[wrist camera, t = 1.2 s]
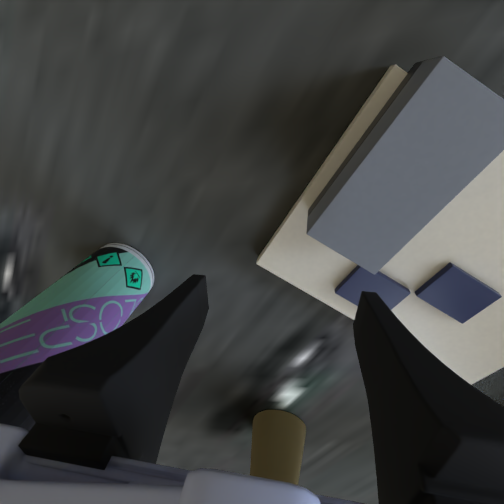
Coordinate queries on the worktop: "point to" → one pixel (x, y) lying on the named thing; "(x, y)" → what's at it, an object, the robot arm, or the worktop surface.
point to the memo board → (411, 255)
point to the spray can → (69, 318)
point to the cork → (277, 446)
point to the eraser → (409, 163)
